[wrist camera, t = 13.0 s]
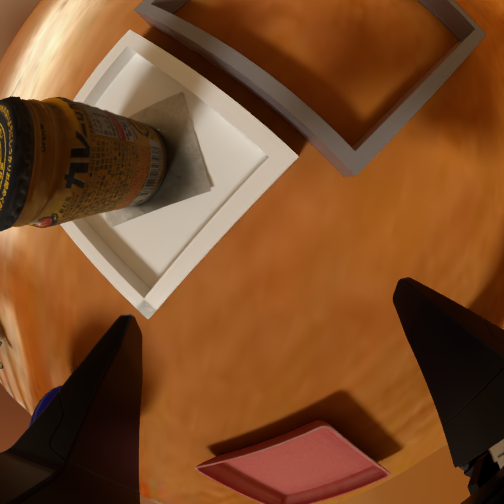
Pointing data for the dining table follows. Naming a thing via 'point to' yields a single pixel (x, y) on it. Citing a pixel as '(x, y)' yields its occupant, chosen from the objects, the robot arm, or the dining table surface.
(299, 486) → the plant saucer
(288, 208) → the dining table surface
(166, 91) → the tray
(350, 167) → the gray square frame
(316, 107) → the dining table surface
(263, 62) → the dining table surface
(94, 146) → the condiment
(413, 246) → the dining table surface
